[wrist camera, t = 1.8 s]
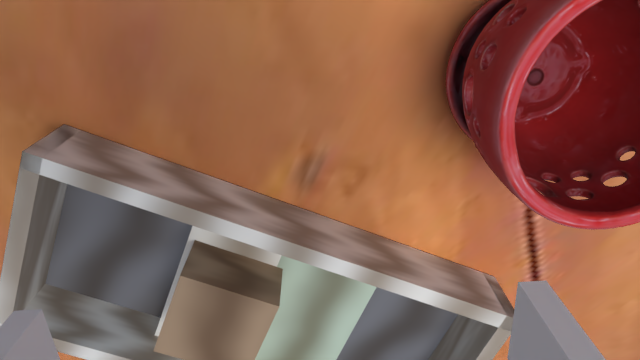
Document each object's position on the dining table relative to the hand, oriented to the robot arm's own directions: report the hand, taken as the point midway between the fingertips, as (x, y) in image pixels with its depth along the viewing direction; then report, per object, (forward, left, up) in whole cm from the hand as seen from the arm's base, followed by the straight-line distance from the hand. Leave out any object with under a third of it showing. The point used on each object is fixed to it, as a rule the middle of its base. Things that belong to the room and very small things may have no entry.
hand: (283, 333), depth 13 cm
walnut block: (0, -15, -20) cm, 25 cm away
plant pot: (+14, +9, -23) cm, 28 cm away
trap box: (+3, -15, -23) cm, 28 cm away
